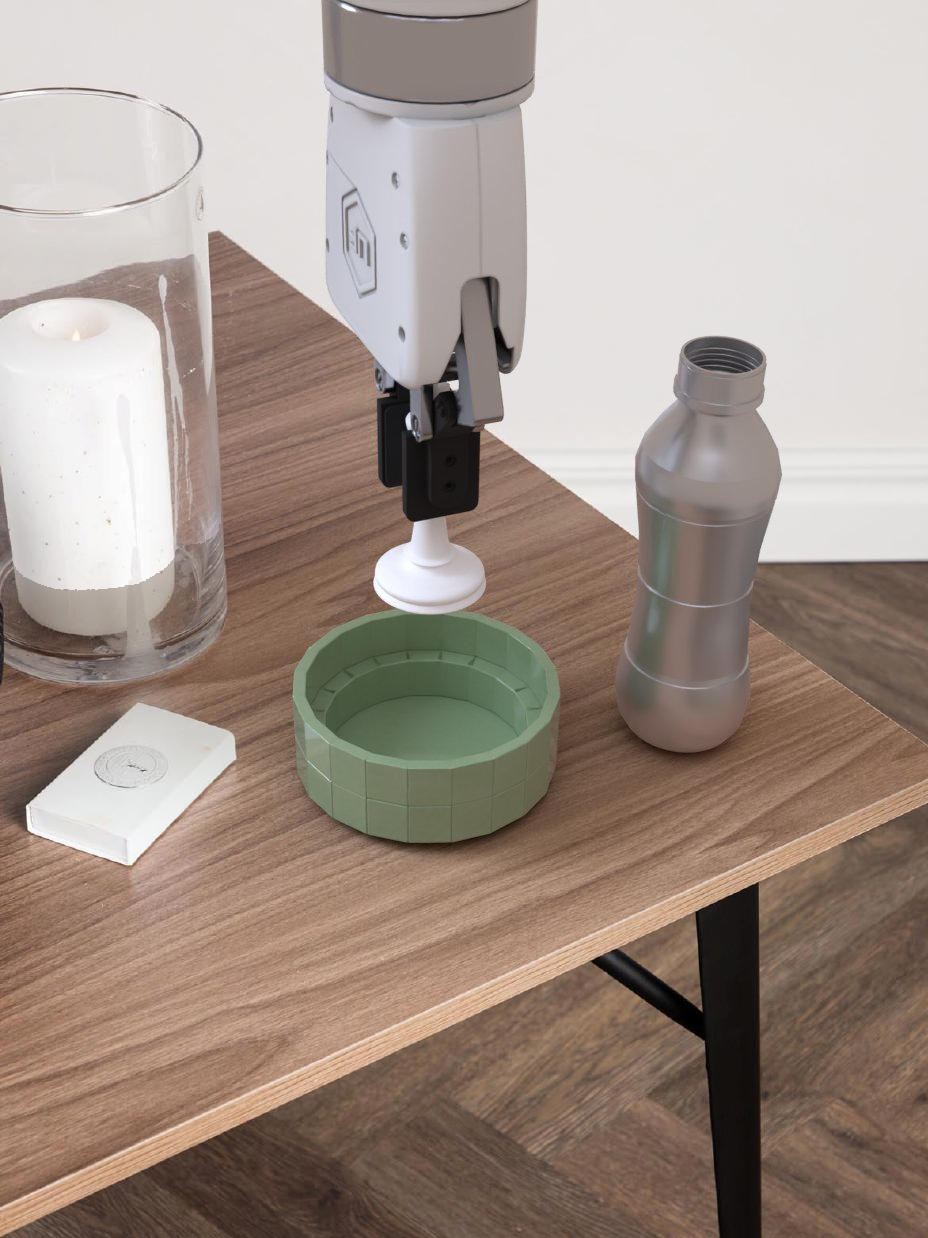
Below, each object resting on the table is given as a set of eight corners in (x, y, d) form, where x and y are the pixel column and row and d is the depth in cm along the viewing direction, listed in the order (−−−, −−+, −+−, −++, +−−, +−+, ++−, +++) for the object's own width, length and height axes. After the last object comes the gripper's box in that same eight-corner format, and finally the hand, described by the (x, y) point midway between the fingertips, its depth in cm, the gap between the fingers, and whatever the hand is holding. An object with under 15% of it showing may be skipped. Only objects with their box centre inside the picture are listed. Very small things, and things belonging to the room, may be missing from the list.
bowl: (260, 823, 78) (253, 738, 75) (345, 670, 87) (343, 588, 84) (518, 876, 76) (523, 791, 73) (578, 714, 85) (585, 632, 82)
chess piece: (350, 578, 75) (343, 368, 68) (436, 541, 78) (437, 335, 71) (422, 629, 72) (422, 415, 66) (509, 588, 75) (517, 378, 68)
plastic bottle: (689, 788, 81) (742, 409, 68) (582, 725, 85) (613, 351, 71) (770, 729, 85) (834, 358, 72) (664, 670, 88) (707, 306, 75)
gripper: (258, -16, 64) (284, 423, 76) (411, 131, 53) (412, 616, 65) (444, -31, 67) (440, 396, 79) (626, 106, 56) (589, 578, 68)
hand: (428, 493), depth 72 cm, fingers closed on chess piece
